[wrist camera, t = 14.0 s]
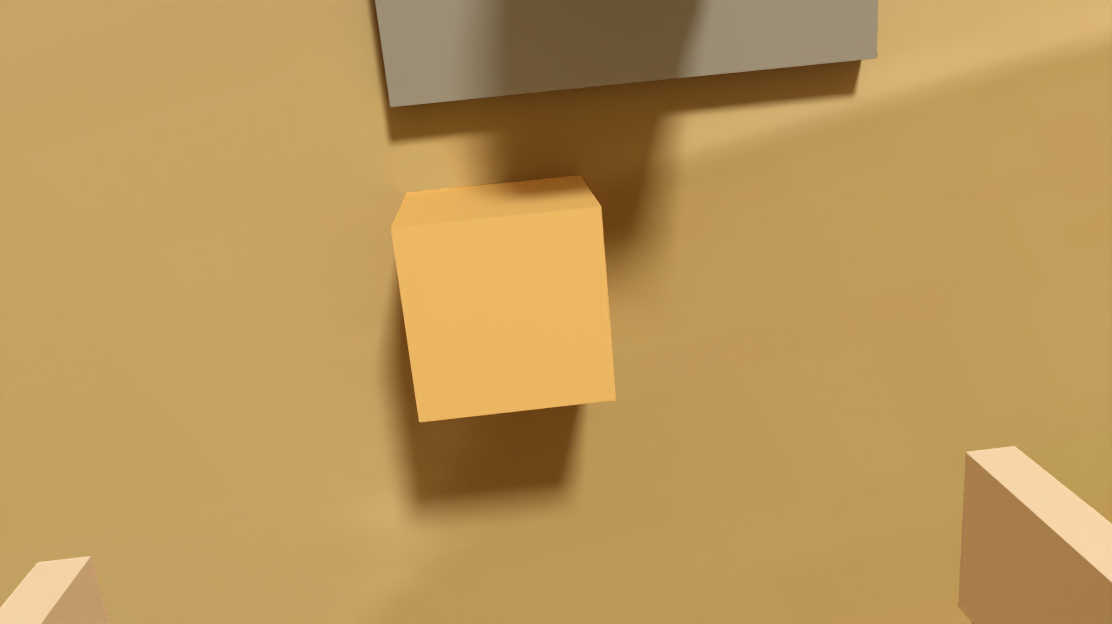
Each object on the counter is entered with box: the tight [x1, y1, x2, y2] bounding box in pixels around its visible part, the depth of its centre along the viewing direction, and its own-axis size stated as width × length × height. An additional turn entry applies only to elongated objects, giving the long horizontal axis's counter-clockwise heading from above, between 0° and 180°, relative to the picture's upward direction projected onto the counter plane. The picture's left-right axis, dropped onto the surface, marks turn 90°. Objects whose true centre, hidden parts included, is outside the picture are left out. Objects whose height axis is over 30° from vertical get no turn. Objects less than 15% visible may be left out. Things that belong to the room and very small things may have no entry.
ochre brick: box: [391, 175, 616, 422], centre depth 30 cm, size 6×6×6 cm
